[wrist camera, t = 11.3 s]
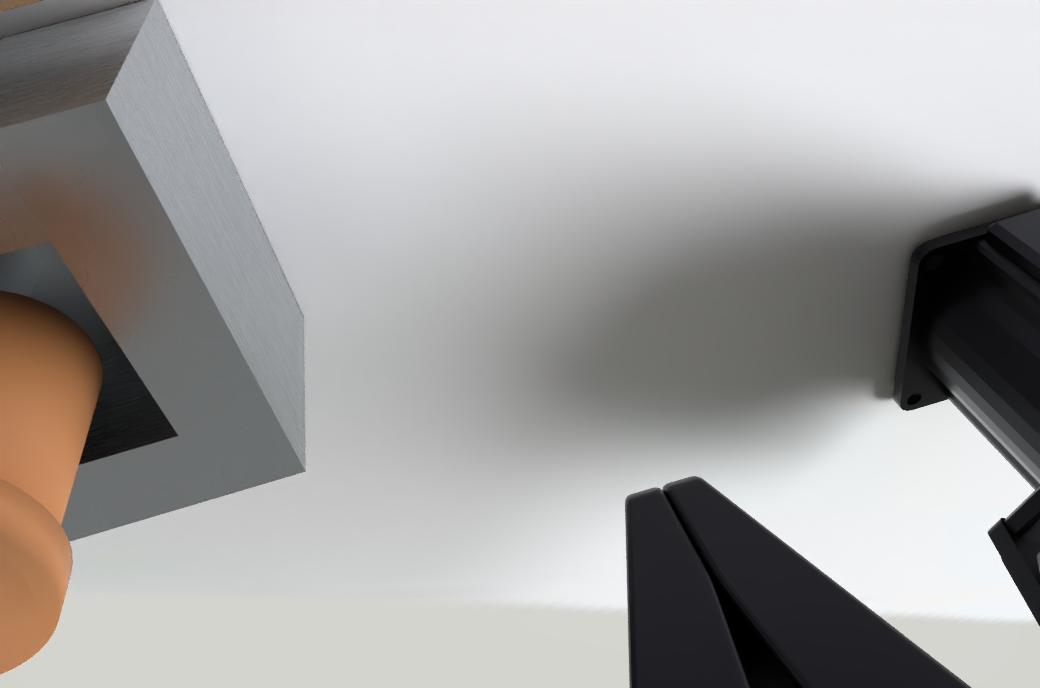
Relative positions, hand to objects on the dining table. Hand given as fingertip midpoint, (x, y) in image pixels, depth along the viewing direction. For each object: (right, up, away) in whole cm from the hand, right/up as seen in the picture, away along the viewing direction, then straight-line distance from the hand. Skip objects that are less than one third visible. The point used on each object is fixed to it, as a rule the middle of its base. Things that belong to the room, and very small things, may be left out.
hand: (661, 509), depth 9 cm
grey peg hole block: (-12, +4, +9) cm, 15 cm away
